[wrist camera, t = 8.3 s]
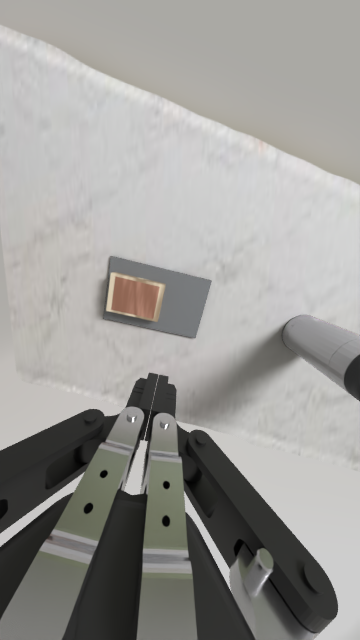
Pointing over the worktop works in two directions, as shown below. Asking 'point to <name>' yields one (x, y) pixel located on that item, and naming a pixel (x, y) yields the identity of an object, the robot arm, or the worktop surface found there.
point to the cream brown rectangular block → (135, 296)
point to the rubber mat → (165, 298)
